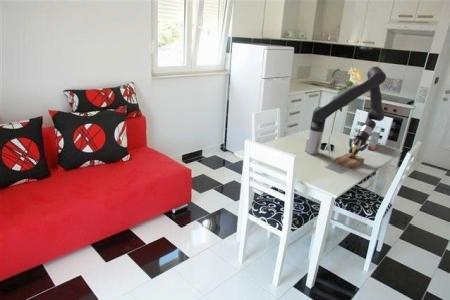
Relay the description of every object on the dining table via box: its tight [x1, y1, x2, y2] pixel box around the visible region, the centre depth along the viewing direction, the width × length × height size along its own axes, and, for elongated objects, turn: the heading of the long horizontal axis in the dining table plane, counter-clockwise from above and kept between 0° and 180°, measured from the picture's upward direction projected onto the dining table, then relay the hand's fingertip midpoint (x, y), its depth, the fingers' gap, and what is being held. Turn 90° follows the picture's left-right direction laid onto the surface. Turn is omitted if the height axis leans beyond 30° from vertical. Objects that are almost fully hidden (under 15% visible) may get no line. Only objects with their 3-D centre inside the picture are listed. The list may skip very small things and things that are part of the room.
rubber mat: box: [324, 163, 349, 175], centre depth 206 cm, size 12×10×1 cm
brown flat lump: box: [334, 152, 365, 170], centre depth 217 cm, size 12×18×4 cm, turn 132°
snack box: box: [367, 125, 383, 152], centre depth 251 cm, size 21×6×15 cm, turn 151°
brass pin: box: [350, 143, 358, 159], centre depth 216 cm, size 3×3×10 cm
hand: (352, 153), depth 215 cm, fingers closed on brass pin, 3 cm apart
